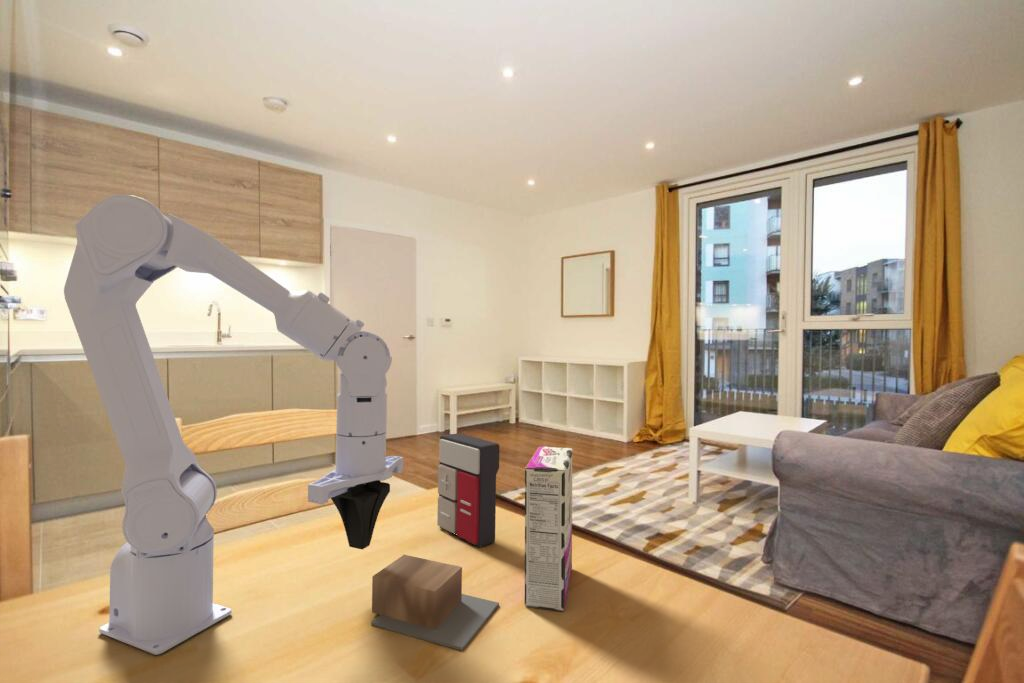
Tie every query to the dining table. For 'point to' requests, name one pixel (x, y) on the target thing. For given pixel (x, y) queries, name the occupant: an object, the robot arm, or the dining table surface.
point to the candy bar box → (548, 528)
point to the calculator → (468, 487)
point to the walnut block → (417, 591)
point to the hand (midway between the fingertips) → (359, 545)
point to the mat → (447, 623)
